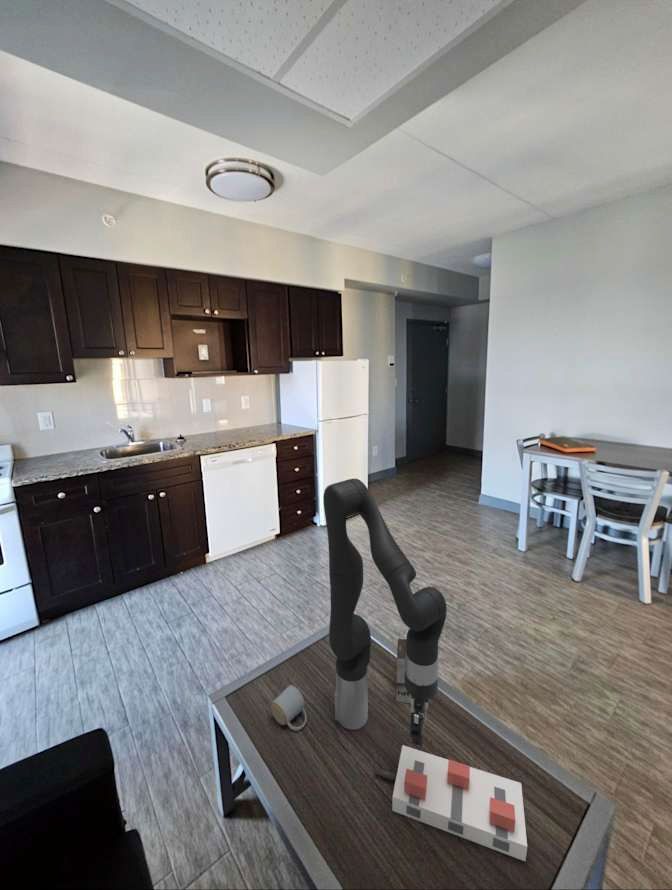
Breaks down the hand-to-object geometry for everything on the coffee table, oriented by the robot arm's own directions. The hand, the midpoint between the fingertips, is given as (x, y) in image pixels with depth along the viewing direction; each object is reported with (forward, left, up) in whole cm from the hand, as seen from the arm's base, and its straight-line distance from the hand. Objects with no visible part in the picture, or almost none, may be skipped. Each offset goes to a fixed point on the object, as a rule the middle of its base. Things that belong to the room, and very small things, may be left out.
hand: (419, 726), depth 92 cm
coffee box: (-8, +28, -20) cm, 35 cm away
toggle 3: (+19, -3, -15) cm, 24 cm away
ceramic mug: (-39, +8, -20) cm, 45 cm away
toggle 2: (+9, +2, -15) cm, 18 cm away
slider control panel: (+6, 0, -20) cm, 21 cm away
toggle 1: (0, -3, -15) cm, 16 cm away
